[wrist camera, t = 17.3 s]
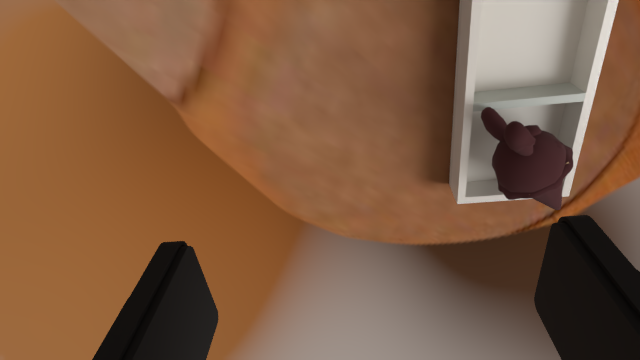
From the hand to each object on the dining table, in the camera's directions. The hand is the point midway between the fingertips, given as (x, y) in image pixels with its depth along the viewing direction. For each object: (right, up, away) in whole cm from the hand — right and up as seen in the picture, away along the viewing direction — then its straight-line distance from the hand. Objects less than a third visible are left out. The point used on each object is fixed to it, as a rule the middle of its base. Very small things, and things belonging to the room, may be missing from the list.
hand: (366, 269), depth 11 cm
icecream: (+19, +6, +30) cm, 36 cm away
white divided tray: (+18, +12, +30) cm, 37 cm away
